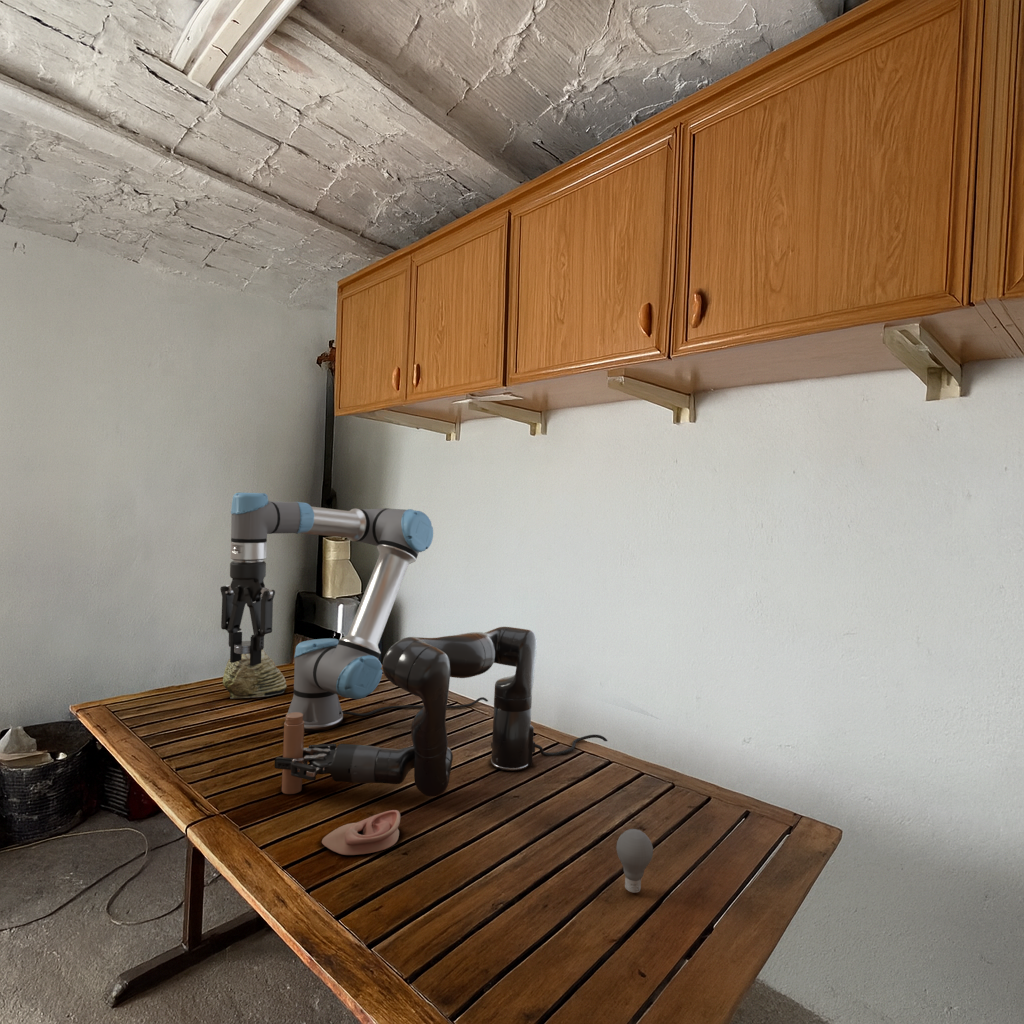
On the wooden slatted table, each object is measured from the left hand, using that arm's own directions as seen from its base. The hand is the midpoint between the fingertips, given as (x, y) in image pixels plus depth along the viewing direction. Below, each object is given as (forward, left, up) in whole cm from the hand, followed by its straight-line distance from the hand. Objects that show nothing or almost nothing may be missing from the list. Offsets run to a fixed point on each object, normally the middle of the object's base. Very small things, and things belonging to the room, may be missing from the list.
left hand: (245, 662), depth 144 cm
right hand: (-1, +14, -18) cm, 23 cm away
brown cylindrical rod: (-3, +16, -25) cm, 30 cm away
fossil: (-30, -48, -25) cm, 62 cm away
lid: (0, 0, +4) cm, 4 cm away
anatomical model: (0, +43, -25) cm, 50 cm away
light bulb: (-21, +88, -25) cm, 94 cm away
